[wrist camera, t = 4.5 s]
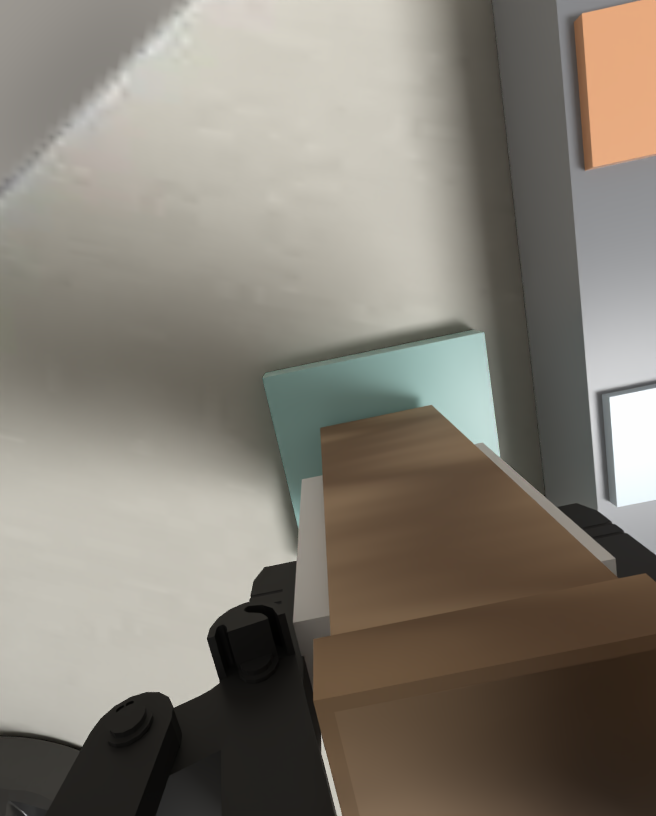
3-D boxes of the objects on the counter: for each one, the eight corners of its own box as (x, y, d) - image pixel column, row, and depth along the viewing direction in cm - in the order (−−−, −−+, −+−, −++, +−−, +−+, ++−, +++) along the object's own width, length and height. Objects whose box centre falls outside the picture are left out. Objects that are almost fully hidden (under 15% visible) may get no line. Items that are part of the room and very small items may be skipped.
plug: (337, 535, 18) (382, 973, 6) (313, 423, 17) (313, 701, 5) (454, 511, 18) (714, 911, 6) (436, 398, 17) (706, 623, 5)
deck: (309, 558, 20) (309, 574, 19) (265, 372, 18) (262, 377, 17) (499, 521, 20) (510, 535, 19) (473, 329, 18) (484, 332, 17)
